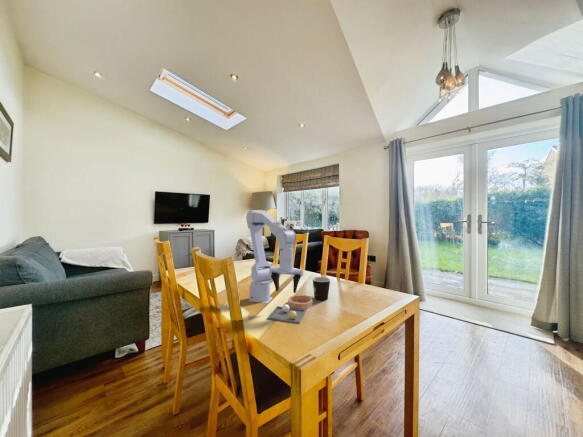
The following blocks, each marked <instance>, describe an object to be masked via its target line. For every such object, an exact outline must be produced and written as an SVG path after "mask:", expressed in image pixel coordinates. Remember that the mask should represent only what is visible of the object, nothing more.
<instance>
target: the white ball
mask: <svg viewBox="0 0 583 437" xmlns="http://www.w3.org/2000/svg"><path fill="white" fill-rule="evenodd" d="M281 307H282V310H283V312H288V311H289V309H290V308H291V307H289V305H288V303H287V304H286V303H284V304H283V305H282V306H281Z"/></svg>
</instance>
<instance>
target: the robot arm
mask: <svg viewBox="0 0 583 437" xmlns="http://www.w3.org/2000/svg"><path fill="white" fill-rule="evenodd" d="M245 218H246V224H247V229H249V231H250V239H251V243H252V248H253V249H252V251H253V257H254V260H255V263H254V264H253V265H252V266H251V268H250V270H251V274H250V275H251V280H252V281H251V282H250V285H249V300H248V302H254V303H255V302H256V303H262V304H268V303H269V302H270V301H271V300H272V299H273V298H274V297H273V296H271V282H272V281H273V284H274V288H275V291H276V292H278V291H279V290H280V275H291V276H292V281H293V282H292V283H293V287H292V288H293V289H292V290H293V291H292V292H293V294H296V293H297V289H298V285H299V282H300V279H301V278H302V277H303V276H304V274H305V273H304V271H305V270H304V269H303V270H301V269H298V268H294V244H295V243H297V242H296V241H297V234H296V232H295V230H293V229H291V230H290V229H288V228H287V227H286V226H284V225H283V224H282V222H281V221H275V220H274V219H273V218H272V217H271V216H270V212H269V211H267V210H255V209H254V210H252V209H249V210H248V211H247V212H246V217H245ZM265 226H267V227H268V228H269V231H270V233H271V234H272V235H273V236H275V238H276V241H277V243H278V244H277V245H278V249H279V267H272V264H271V263H270V262H269V261H267V260H266V259H267V258H266V253H265V248H264V242H263V238H262V232H261V230H262V229H263V228H265Z"/></svg>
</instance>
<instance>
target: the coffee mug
mask: <svg viewBox="0 0 583 437" xmlns="http://www.w3.org/2000/svg"><path fill="white" fill-rule="evenodd" d="M330 285H331V279H330V278H328V277H323V276H315V277H313V278H312V288H313V297H314V300H315V301H318V302H320V301H321V302H324V301H325V302H326V301H327V300H328V298H329V291H330Z"/></svg>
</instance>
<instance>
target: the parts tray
mask: <svg viewBox="0 0 583 437" xmlns="http://www.w3.org/2000/svg"><path fill="white" fill-rule="evenodd" d="M290 311H295V312H296V313H297V317H296V318H295V319H290V318H289V312H290ZM306 312H307V309H297V308H291V307H290V309H289V311H288V312H283V310H282V306H280V305H279V306H278V305H277V306H276V307H275V308H274V309H273V310H272V312H271V313H270V314H269V315H268V316H267V320H268V321H269V320H270V321H277V322H284V323H293V324H297V325H298V324H299V325H300V323H302V320H303V319H304V316H305V314H306Z"/></svg>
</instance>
